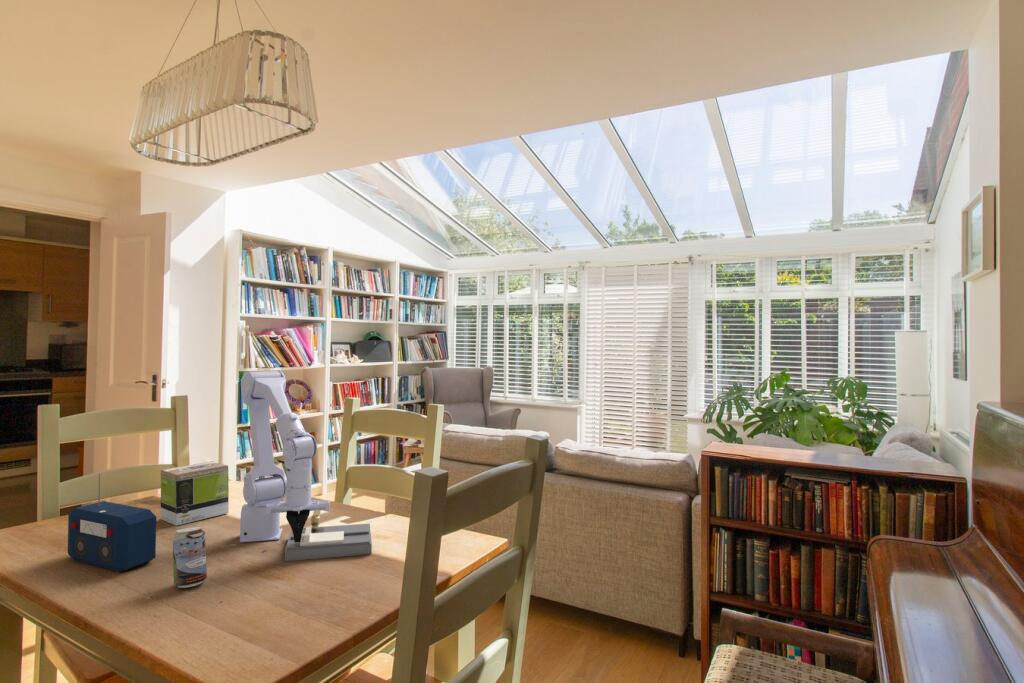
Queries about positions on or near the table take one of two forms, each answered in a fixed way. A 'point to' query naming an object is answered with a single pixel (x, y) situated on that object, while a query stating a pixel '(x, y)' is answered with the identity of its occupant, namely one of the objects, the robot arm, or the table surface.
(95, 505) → the radio
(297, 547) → the case
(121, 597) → the table surface
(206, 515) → the tea box
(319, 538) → the cover
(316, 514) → the key
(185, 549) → the beverage can
